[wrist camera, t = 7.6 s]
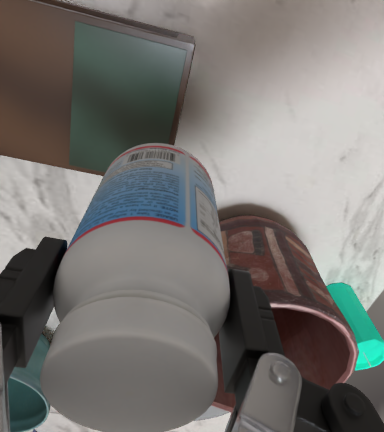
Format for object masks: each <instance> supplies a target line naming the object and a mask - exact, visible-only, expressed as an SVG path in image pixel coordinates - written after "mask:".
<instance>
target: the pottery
mask: <svg viewBox="0 0 384 432" xmlns="http://www.w3.org/2000/svg"><path fill="white" fill-rule="evenodd" d="M219 224H220V231H221V236H222V242H223V248H224V254H225V259H226V265H227V271H228V270H229V269H230V268H231V269H237V270H243V271H249V272H250V275H251V279H252V283H253V286H259V287H261V288H262V290H263V291H264V292H265V294H266V295H267V296H268V298H269V301H270V305H271V308H272V309H271V311H272V312H273V315H274V320H275V322H276V326H277V329H278V333H279V336H280V340H281V343H282V347H283V350H284V354H285V357H286V358H288V359H289V360H290V361H292V362H293V363H294V365H295V366H296V367H297V369H298V370H299V372H300V374H301V376H302V377H303V378H305V379H307V380H308V381H311V382H313V383H315V384H317V385H320V386H322V387H324V388H326V389H330V388H331V387H332V386H333V385H334V384H336V383H345V382H346V380H347V379H348V378H349V377H350V376H351V375H352V374H353V372H354V371H355V367H356V363H357V359H358V355H359V349H358V346H357V342H356V339H355V335H354V333H353V331H352V329H351V327H350V325H349V323H348V322H347V320H346V318H345V317H344V315H343V314H342V312H341V311H340V309H339V308H338V306H337V305H336V303H335V301H334V300H333V298H332V297H331V295H330V293H329V291H328V289H327V287H326V286H325V284H324V282H323V280H322V278H321V277H320V274H319V272H318V270H317V268H316V266H315V264H314V262H313V259H312V257H311V255H310V253H309V251H308V249H307V248H306V246H305V245H304V244H303V243H302V242H301V240H300V239H299V238H298V237H297V236H296V235H295V234H294V233H293V232H292V231H291V230H289V229H287V228H285V227H284V226H282V225H280V224H278V223H276V222H274V221H272V220H269V219H266V218H262V217H257V216H253V215H248V216H236V217H233V218H229V219H226V220H223V221H221V222H219ZM214 340H215V342H216V346H217V372H218V389H217V393H216V396H215V399H214V401H213V403H212V405H211V406H214V407H217V408H219V409H222V410H225V411H228V412H231V413H232V410H233V408H234V406H235V404H236V400H235V394H231V393H225V391H224V381H223V371H222V361H221V350H220V340H219V332H218V334H217V335H216V336H215V337H214Z"/></svg>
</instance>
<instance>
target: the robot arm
mask: <svg viewBox="0 0 384 432" xmlns="http://www.w3.org/2000/svg"><path fill="white" fill-rule="evenodd" d="M66 251H67V241H66V240H62V239H56V238H50V237H44V238H43V239H42V241H41V242H40V244H39V245H38V247H37V248H36V250H34V249H28V248H26V249H24V250H22V251H21V252H19V253H18V254H16V255H15V256H13V257H12V259H11V260H10V262H9V263H8V264H7V266H6V267H5V269H4V270H3V271H2V273H1V274H0V432H10V419H9V397H8V379H9V377H10V375H11V373H12V371H13V369H14V367H20V368H26V367H27V364H28V362H29V360H30V358H31V356H32V353H33V351H34V349H35V347H36V345H37V343H38V340H39V338H40V336H41V334H42V332H43V329H44V327H45V325H46V323H47V321H48V319H49V316H50V314H51V312H52V310H53V308H54V302H53V288H54V280H55V276H56V273H57V270H58V268H59V265H60V263H61V261H62V258H63V256H64V254H65V253H66ZM228 276H229V286H230V305H229V310H228V313H227V317H226V319H225V322H224V324H223V326H222V327H221V329H220V331H219V340H220V350H221V361H222V371H223V381H224V391H225V393H231V394H235V400H236V404H235V406H234V408H233V410H232V413H231V416H230V418H229V421H228V424H227V427H226V429H225V432H384V423H383V422H382V420H381V418H380V417H379V415H378V413H377V411H376V410H375V408H374V406H373V405H372V403H371V402H370V400H369V399H368V398H367V397H366V396H365V395H364V394H363V393H362V392H361V391H360V390H358V389H357V388H355V387H353V386H352V385H349V384H346V383H336V384H334V385H333V386H332V387H331V388H330V389H326V388H324V387H322V386H320V385H317V384H315V383H313V382H311V381H308V380H307V379H305V378H303V377H302V376H301V374H300V372H299V370H298V369H297V367H296V366H295V365H294V363H293V362H292V361H290V360H289V359H288V358H286V357H285V354H284V350H283V347H282V343H281V340H280V336H279V333H278V329H277V326H276V322H275V320H274V315H273V312H272V311H271V309H272V308H271V305H270V301H269V298H268V296H267V295H266V294H265V292H264V291H263V290H262V288H261V287H259V286H253V283H252V279H251V275H250V272H249V271H243V270H237V269H231V268H230V269H229V270H228Z"/></svg>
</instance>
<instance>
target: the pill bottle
mask: <svg viewBox="0 0 384 432" xmlns="http://www.w3.org/2000/svg"><path fill="white" fill-rule="evenodd" d="M53 302H54V307H55V311H56V314H57V317H58V319H59V321H60V324H59V325H58V327H57V328H56V330H55V332H54V334H53V338H52V342H51V345H50V348H49V350H48V353H47V355H46V358H45V360H44V363H43V365H42V369H41V373H40V385H41V389H42V392H43V394H44V396H45V397H46V399H47V400H48V402H49V404H50V405H51V406H52V407H53V408H55V409H56V410H57V411H58V412H59V413H61V414H62V415H63V416H65V417H66V418H68V419H70V420H71V421H74V422H76V423H78V424H80V425H83V426H85V427H88V428H91V429H95V430H98V431H102V432H165V431H168V430H172V429H175V428H179V427H181V426H183V425H186V424H188V423H190V422H192V421H194V420H195V419H197V418H198V417H200V416H201V415H202V414H203V413H205V412H206V411H207V409H208V408H209V407H210V406H211V405H212V403H213V401H214V399H215V396H216V393H217V389H218V372H217V346H216V342H215V340H214V337H215V336H216V335H217V334H218V332H219V331H220V329H221V327H222V326H223V324H224V322H225V319H226V317H227V313H228V310H229V305H230V286H229V276H228V271H227V265H226V259H225V254H224V248H223V242H222V236H221V231H220V224H219V219H218V214H217V207H216V201H215V195H214V189H213V185H212V181H211V179H210V176H209V174H208V172H207V171H206V169H205V168H204V166H203V165H202V164H201V163H200V161H199V160H198V159H197V158H195V157H194V156H193V155H192V154H190V153H188V152H187V151H185V150H183V149H181V148H179V147H176V146H173V145H169V144H163V143H148V144H142V145H138V146H135V147H132V148H130V149H128V150H126V151H125V152H123V153H122V154H121V155H119V156H118V157H117V158H116V159H115V160H114V161H113V162H112V163H111V165H110V166H109V168H108V170H107V171H106V173H105V175H104V177H103V179H102V181H101V183H100V185H99V187H98V189H97V191H96V193H95V195H94V197H93V199H92V201H91V203H90V205H89V207H88V209H87V211H86V213H85V215H84V217H83V219H82V221H81V223H80V225H79V227H78V229H77V231H76V233H75V235H74V237H73V239H72V241H71V243H70V245H69V247H68V249H67V251H66V253H65V254H64V256H63V258H62V261H61V263H60V265H59V268H58V270H57V273H56V276H55V280H54V288H53Z"/></svg>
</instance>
